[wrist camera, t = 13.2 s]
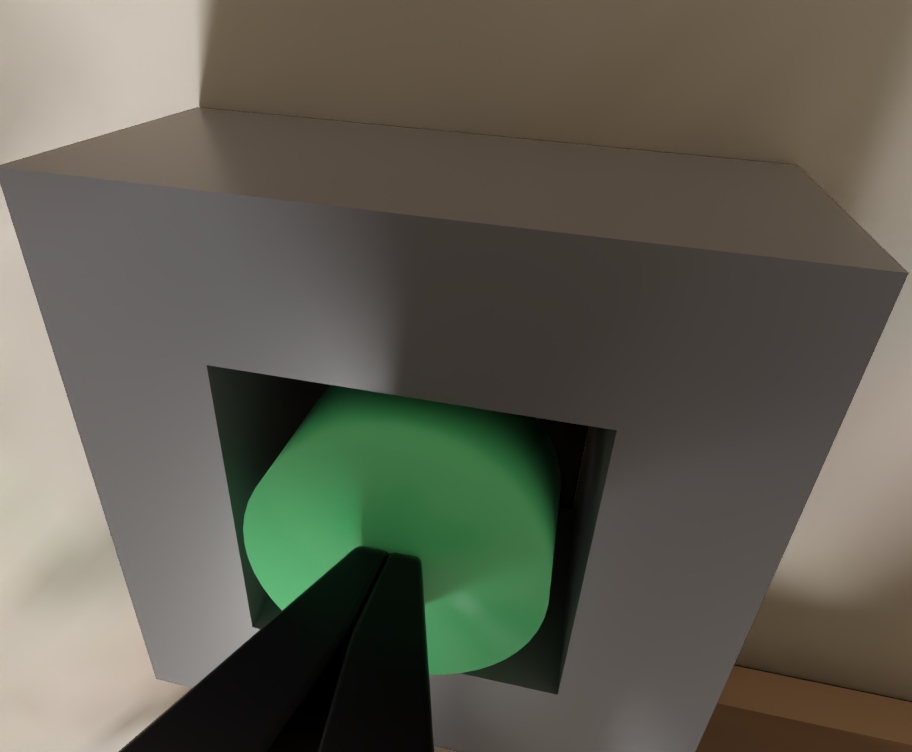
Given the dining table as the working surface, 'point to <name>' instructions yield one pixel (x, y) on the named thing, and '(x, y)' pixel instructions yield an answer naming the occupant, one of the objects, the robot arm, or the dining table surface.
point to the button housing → (460, 374)
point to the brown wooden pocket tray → (803, 717)
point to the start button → (418, 513)
